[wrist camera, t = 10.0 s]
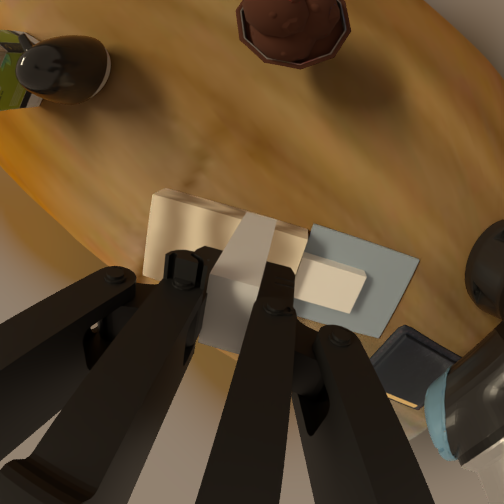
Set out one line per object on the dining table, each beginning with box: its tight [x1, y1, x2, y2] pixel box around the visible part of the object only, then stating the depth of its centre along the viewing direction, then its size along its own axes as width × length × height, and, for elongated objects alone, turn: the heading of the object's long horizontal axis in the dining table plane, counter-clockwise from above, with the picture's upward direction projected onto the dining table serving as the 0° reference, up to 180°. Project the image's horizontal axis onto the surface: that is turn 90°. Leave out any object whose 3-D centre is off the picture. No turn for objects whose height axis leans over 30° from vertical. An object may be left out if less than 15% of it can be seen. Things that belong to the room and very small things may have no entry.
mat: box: [293, 224, 419, 338], centre depth 43 cm, size 16×14×1 cm
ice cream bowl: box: [236, 0, 351, 69], centre depth 25 cm, size 11×11×15 cm
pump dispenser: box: [15, 33, 111, 105], centre depth 29 cm, size 10×10×15 cm
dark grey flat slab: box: [370, 325, 462, 410], centre depth 47 cm, size 20×2×15 cm
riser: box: [143, 188, 308, 281], centre depth 42 cm, size 20×12×4 cm, turn 76°
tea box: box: [0, 30, 43, 111], centre depth 30 cm, size 15×10×15 cm
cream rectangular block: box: [294, 252, 367, 314], centre depth 42 cm, size 9×6×2 cm, turn 76°
